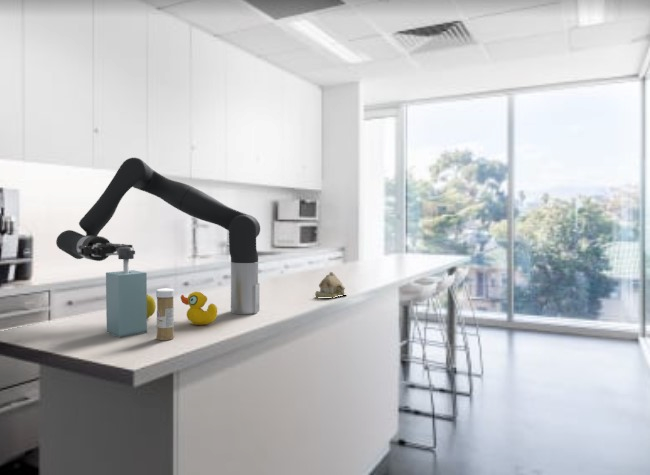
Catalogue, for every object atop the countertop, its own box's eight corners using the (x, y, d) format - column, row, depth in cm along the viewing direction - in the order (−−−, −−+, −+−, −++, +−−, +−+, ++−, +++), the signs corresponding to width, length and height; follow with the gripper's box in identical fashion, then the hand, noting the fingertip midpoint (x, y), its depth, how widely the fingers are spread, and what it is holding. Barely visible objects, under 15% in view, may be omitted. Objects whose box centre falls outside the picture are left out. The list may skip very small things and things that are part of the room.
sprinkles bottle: (153, 338, 134) (152, 289, 133) (168, 335, 137) (167, 287, 137) (162, 341, 131) (162, 291, 130) (177, 338, 134) (177, 289, 134)
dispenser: (106, 332, 140) (105, 272, 139) (134, 327, 146) (133, 270, 145) (119, 337, 135) (118, 275, 134) (146, 332, 140) (146, 272, 139)
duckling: (177, 325, 149) (177, 292, 148) (184, 321, 154) (184, 289, 154) (213, 327, 147) (213, 294, 147) (219, 323, 153) (219, 291, 152)
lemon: (159, 318, 159) (159, 293, 159) (147, 321, 154) (147, 296, 153) (145, 316, 161) (144, 292, 160) (133, 320, 156) (133, 294, 155)
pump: (116, 299, 140) (115, 247, 139) (130, 297, 143) (129, 247, 142) (126, 302, 135) (126, 249, 134) (140, 300, 138) (140, 248, 137)
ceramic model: (326, 293, 212) (326, 269, 211) (350, 295, 207) (350, 271, 206) (310, 298, 199) (310, 273, 198) (335, 300, 194) (336, 275, 193)
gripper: (69, 236, 149) (90, 239, 138) (116, 235, 159) (140, 237, 148) (69, 261, 149) (91, 266, 138) (116, 258, 160) (140, 262, 148)
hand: (116, 251), depth 143 cm, fingers open, 8 cm apart
